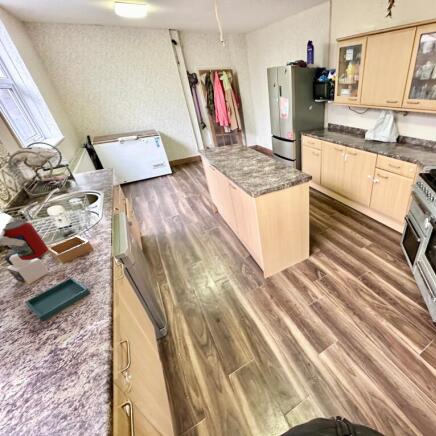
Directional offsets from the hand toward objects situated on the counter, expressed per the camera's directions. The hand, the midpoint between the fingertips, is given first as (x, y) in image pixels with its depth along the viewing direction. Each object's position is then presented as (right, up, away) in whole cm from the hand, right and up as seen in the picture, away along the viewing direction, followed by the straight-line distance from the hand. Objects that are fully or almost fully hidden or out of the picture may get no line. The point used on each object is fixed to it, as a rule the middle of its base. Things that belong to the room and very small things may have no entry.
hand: (26, 237), depth 74 cm
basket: (-16, -10, +32) cm, 37 cm away
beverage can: (0, -6, +3) cm, 7 cm away
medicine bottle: (-19, -17, +19) cm, 32 cm away
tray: (+3, -22, +8) cm, 24 cm away
